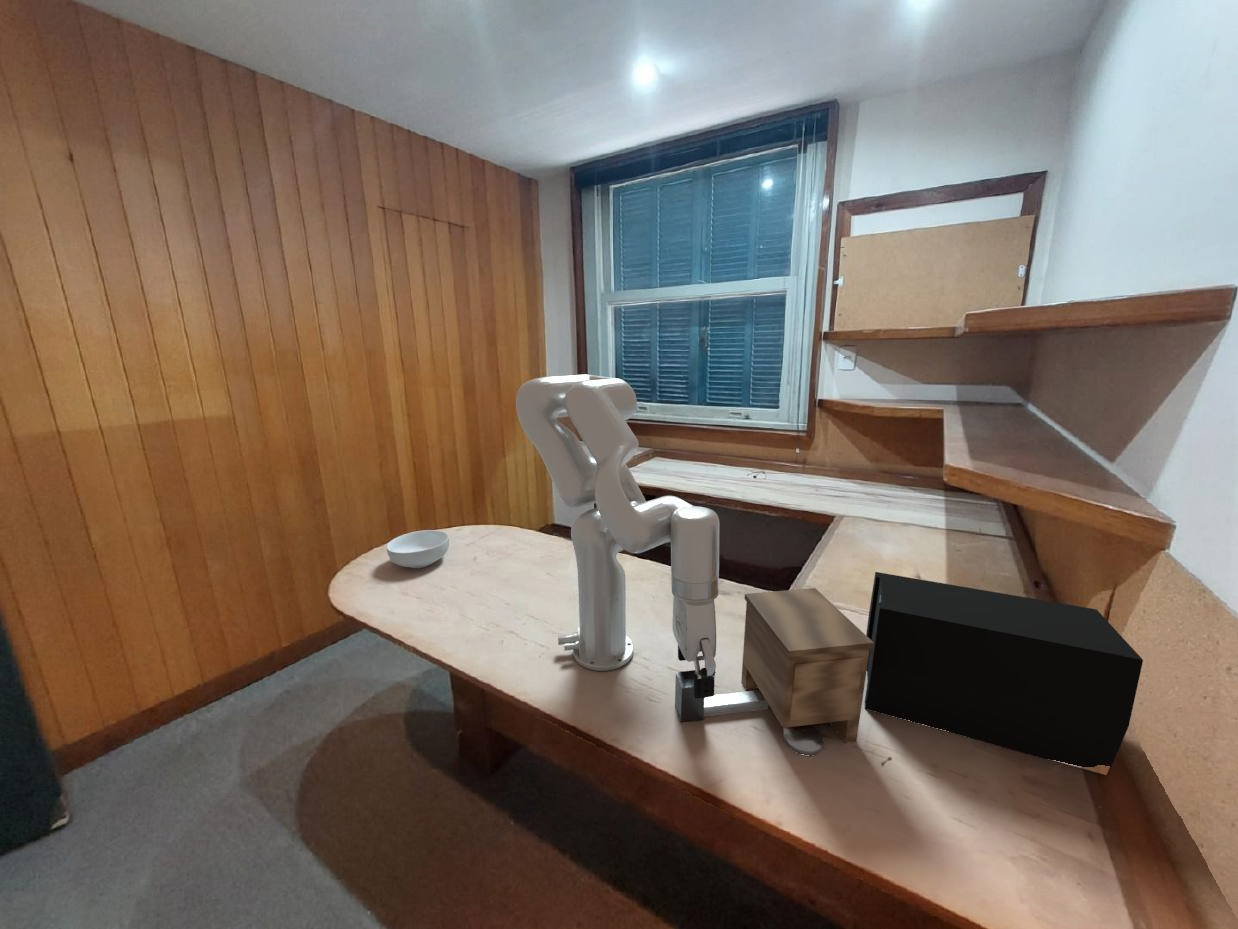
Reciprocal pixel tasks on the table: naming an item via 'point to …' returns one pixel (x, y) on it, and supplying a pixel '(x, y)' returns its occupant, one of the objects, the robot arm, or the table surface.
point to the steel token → (803, 739)
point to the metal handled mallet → (712, 700)
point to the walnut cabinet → (805, 659)
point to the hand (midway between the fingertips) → (695, 676)
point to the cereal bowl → (418, 548)
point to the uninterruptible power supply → (1001, 669)
